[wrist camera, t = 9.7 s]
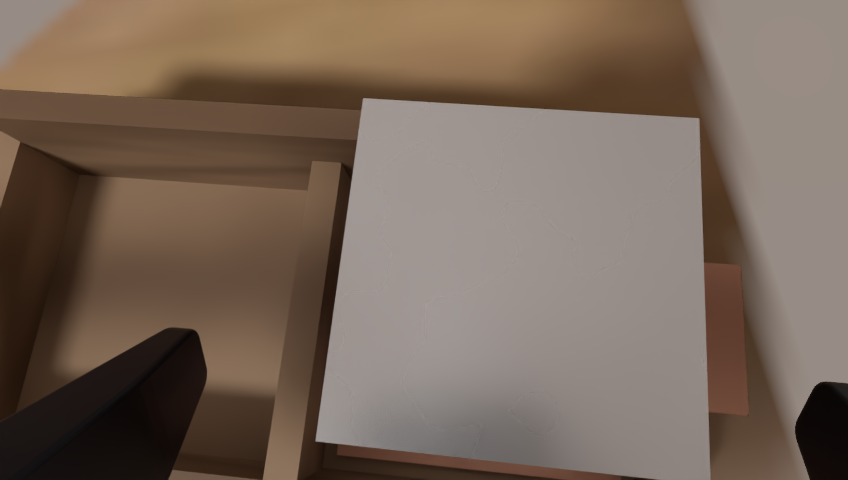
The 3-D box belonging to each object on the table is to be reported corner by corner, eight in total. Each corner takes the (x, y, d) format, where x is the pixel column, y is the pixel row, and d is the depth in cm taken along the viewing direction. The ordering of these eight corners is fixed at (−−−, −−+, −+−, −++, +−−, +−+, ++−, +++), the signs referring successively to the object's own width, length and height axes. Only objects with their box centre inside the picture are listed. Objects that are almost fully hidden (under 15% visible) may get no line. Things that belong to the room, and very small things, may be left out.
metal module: (560, 425, 15) (711, 485, 6) (396, 408, 15) (315, 441, 6) (566, 263, 16) (698, 117, 7) (413, 251, 16) (363, 98, 8)
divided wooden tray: (654, 531, 15) (759, 608, 10) (-2, 456, 16) (-209, 489, 11) (651, 198, 17) (733, 120, 12) (78, 159, 19) (-63, 76, 14)
